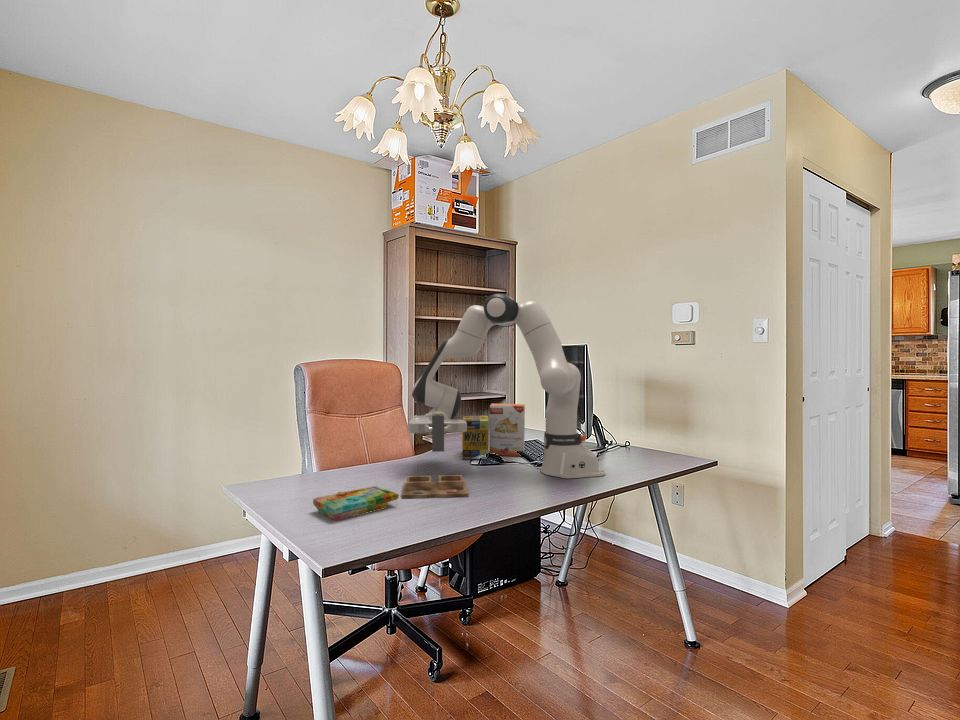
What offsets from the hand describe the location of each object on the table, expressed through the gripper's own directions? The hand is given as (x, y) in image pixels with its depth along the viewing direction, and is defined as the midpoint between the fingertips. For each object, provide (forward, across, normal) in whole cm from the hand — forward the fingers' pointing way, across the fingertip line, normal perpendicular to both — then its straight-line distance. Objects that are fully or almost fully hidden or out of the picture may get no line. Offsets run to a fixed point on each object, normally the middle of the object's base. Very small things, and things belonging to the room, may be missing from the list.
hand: (438, 430), depth 180 cm
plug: (-1, 0, -7) cm, 7 cm away
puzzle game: (+30, +23, -18) cm, 41 cm away
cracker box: (-37, -28, -17) cm, 50 cm away
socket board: (+13, +1, -17) cm, 22 cm away
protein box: (-37, -15, -17) cm, 43 cm away
